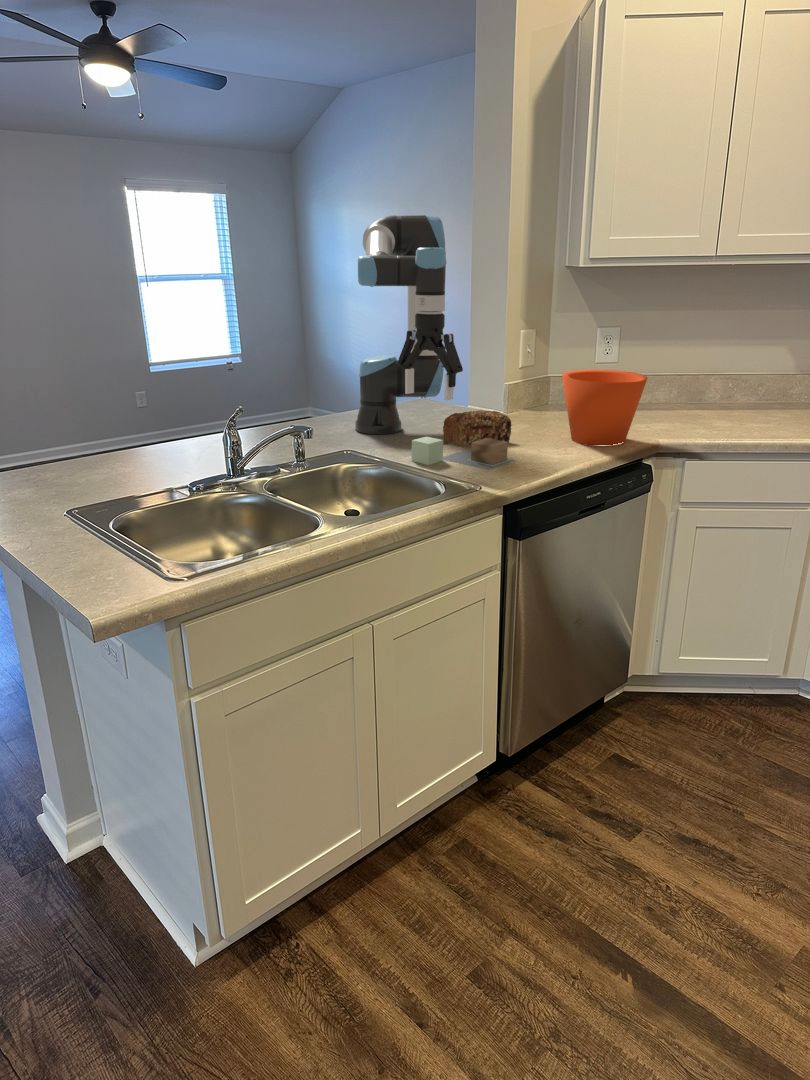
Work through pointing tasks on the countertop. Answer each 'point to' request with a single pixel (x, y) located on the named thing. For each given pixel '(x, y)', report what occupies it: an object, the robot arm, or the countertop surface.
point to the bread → (476, 427)
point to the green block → (427, 450)
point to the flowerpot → (601, 404)
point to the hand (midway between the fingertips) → (428, 396)
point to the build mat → (465, 459)
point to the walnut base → (489, 451)
